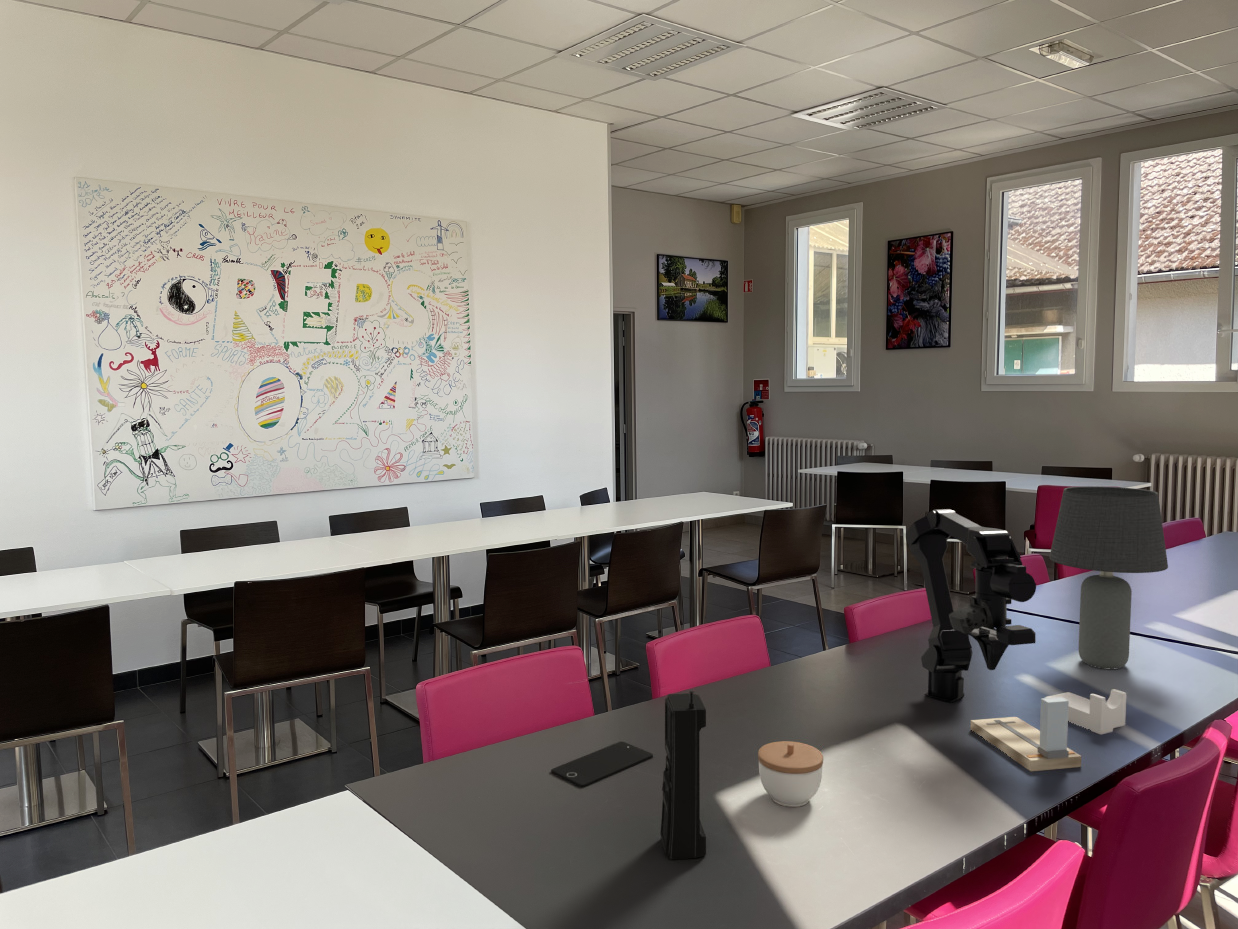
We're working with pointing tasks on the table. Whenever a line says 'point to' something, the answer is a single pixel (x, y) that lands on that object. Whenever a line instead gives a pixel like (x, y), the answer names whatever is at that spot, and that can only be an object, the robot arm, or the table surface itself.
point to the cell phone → (601, 764)
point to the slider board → (1021, 743)
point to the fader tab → (1054, 728)
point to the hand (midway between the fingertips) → (991, 669)
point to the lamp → (1108, 561)
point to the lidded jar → (790, 772)
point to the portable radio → (682, 777)
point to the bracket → (1096, 711)
